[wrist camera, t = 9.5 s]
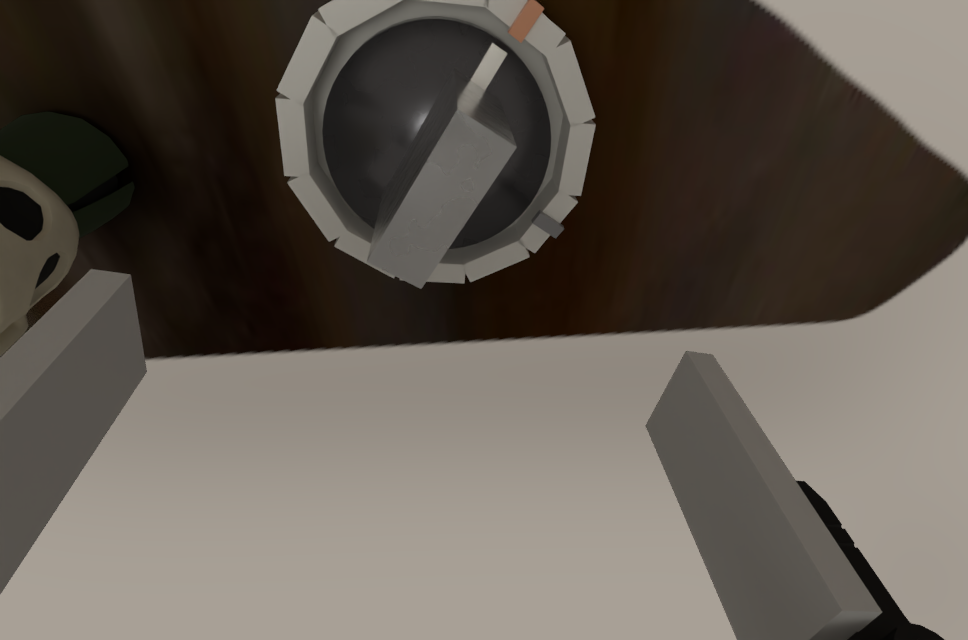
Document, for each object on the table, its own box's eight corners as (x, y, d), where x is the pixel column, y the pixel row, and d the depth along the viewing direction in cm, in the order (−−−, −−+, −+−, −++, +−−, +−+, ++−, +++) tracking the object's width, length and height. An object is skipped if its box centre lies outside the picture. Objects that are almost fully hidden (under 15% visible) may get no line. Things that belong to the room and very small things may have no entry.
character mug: (167, 255, 34) (43, 400, 23) (44, 248, 33) (-142, 395, 23) (118, 66, 28) (-80, 147, 17) (-35, 52, 27) (-342, 128, 16)
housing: (255, 156, 31) (224, 193, 26) (389, -122, 24) (377, -135, 20) (474, 282, 37) (478, 329, 32) (631, 84, 30) (664, 110, 26)
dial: (472, 268, 32) (480, 360, 25) (293, 173, 28) (244, 251, 21) (590, 103, 27) (641, 162, 20) (392, -40, 23) (371, -29, 16)
